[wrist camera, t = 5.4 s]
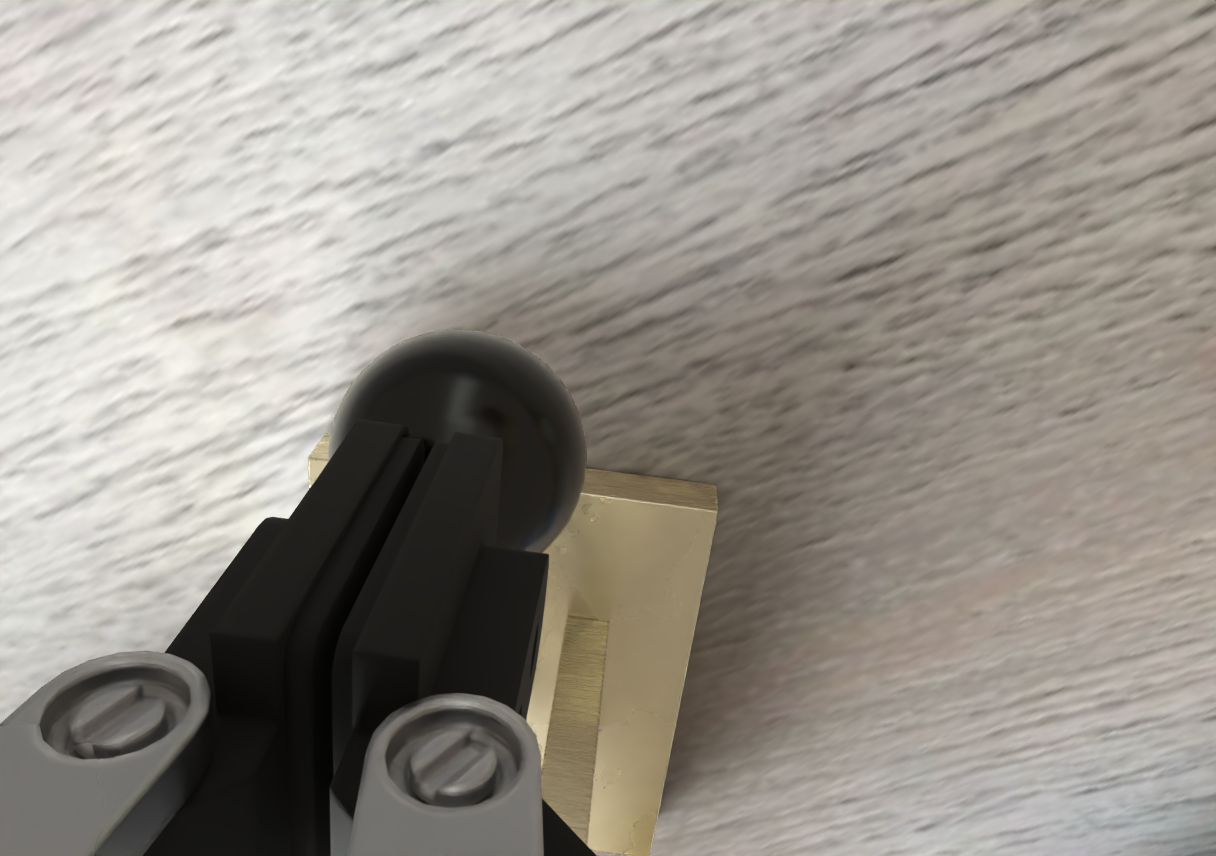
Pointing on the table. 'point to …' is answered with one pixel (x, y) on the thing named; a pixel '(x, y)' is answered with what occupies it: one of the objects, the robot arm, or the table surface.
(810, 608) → the table surface
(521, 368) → the lever
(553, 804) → the bracket
